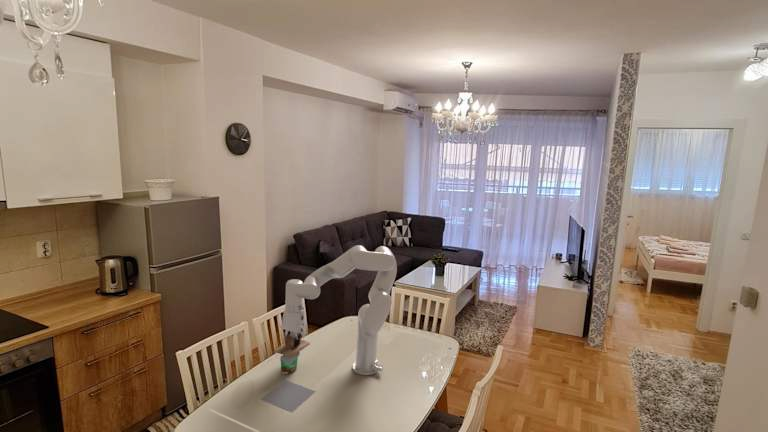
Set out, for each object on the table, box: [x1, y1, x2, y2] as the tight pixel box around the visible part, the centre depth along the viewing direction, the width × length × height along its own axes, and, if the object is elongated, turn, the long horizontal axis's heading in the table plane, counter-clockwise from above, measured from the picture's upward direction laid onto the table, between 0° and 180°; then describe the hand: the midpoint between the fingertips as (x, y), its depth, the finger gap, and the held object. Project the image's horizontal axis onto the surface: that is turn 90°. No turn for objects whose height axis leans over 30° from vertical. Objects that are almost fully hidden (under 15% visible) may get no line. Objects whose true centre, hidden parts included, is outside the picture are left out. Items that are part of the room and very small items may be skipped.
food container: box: [279, 351, 301, 375], centre depth 187 cm, size 12×6×10 cm, turn 168°
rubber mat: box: [260, 379, 317, 413], centre depth 169 cm, size 16×16×1 cm
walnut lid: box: [274, 332, 311, 357], centre depth 185 cm, size 9×14×6 cm, turn 155°
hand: (292, 344), depth 186 cm, fingers closed on walnut lid, 3 cm apart
